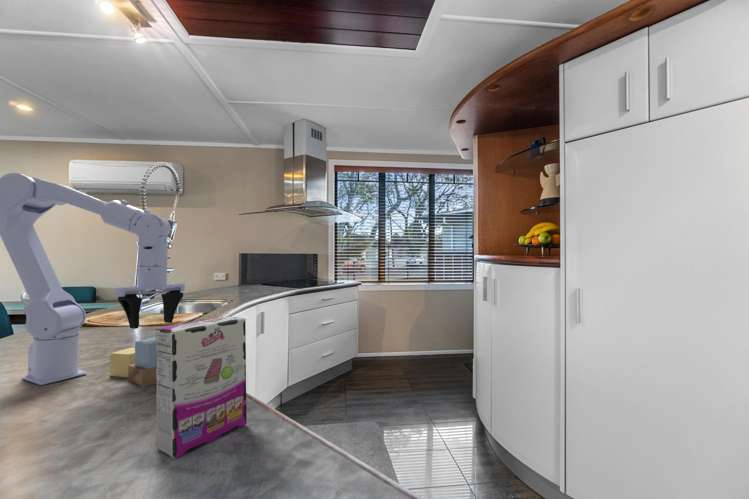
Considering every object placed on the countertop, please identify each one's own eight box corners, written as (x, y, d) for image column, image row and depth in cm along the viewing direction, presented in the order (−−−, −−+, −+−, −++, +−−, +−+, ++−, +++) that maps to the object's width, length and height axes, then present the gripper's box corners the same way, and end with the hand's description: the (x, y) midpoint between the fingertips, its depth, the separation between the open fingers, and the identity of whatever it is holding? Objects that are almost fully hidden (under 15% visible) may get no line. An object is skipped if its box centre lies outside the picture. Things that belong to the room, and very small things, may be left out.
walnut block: (128, 381, 73) (128, 365, 73) (163, 372, 79) (163, 357, 79) (142, 388, 69) (142, 371, 69) (178, 378, 75) (178, 362, 75)
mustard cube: (110, 376, 76) (110, 353, 77) (130, 369, 81) (131, 347, 81) (128, 377, 75) (129, 354, 75) (148, 370, 80) (148, 348, 80)
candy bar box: (227, 417, 56) (228, 315, 56) (247, 425, 53) (248, 317, 53) (152, 450, 46) (154, 326, 47) (172, 461, 44) (174, 330, 44)
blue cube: (148, 368, 71) (148, 344, 71) (134, 365, 73) (135, 341, 73) (172, 362, 75) (172, 339, 76) (158, 359, 78) (158, 336, 78)
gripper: (128, 267, 72) (127, 332, 72) (192, 265, 85) (192, 321, 84) (110, 267, 75) (109, 329, 75) (174, 265, 88) (174, 319, 88)
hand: (151, 325), depth 80 cm, fingers open, 7 cm apart
